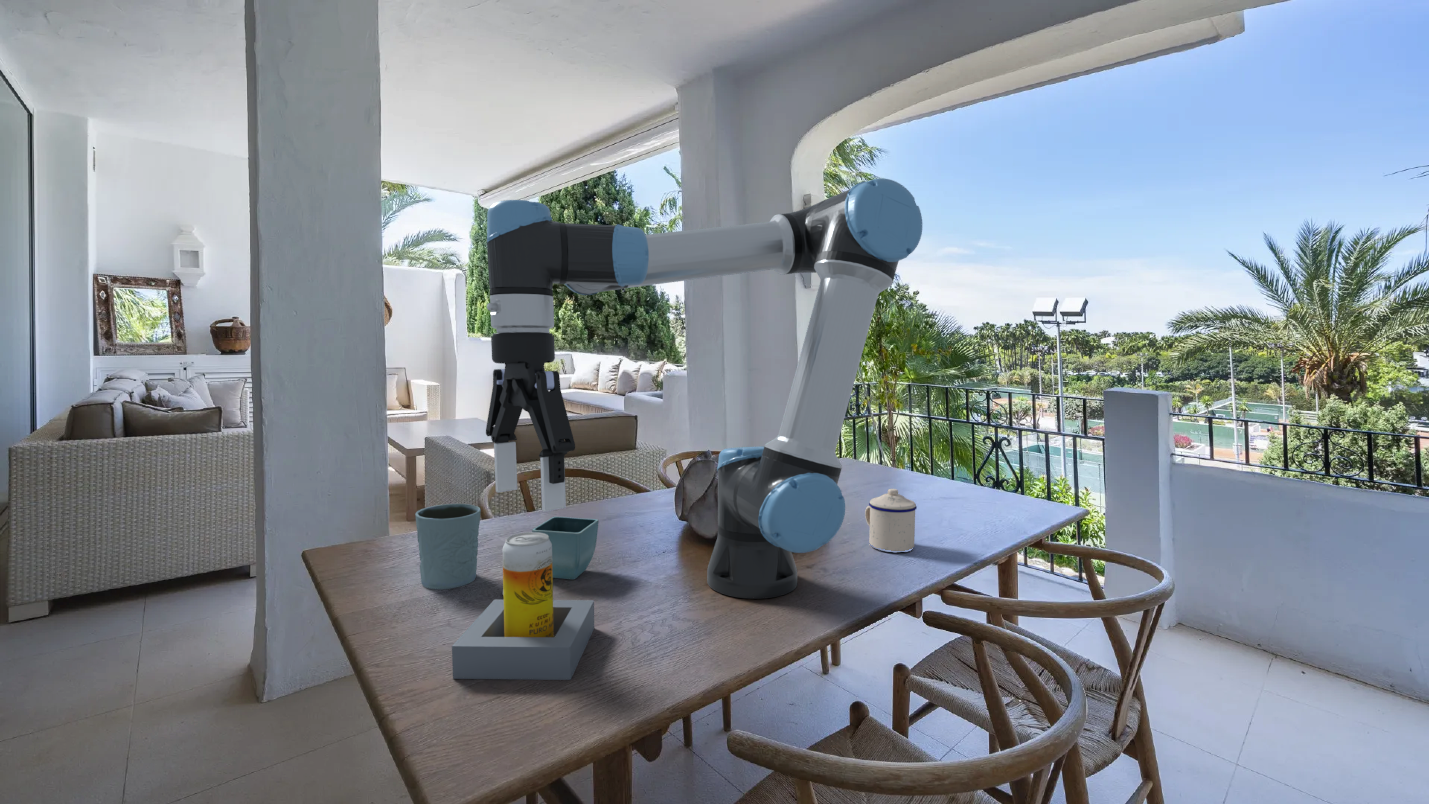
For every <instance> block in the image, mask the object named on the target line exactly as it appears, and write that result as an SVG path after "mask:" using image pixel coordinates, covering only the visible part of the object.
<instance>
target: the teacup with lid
mask: <svg viewBox="0 0 1429 804" xmlns="http://www.w3.org/2000/svg"><path fill="white" fill-rule="evenodd" d="M916 504H917V503H915V501H914V500H911V499H909V498H907V497H905V496H903V495H902V494H900V493H899V490H898V489H897V488H889V489H888V490H887V493H884V494H882V495H880V496H876V497H873V498H871V499H870V500H869V503H868V505H867V506H866V508H865V510H864V517H865V522H866V524H867V526H868V527H869V532H868V533H869V534H868V535H869V536H868V538H869V539H868V540H869V541H868V544H869V543H870V544H871V545H873V546H874V547H876V548H881V549H885V550H891V551H905V550H909V549H912V548H913V547H914V548H915V532H916V531H915V530H916V510H917V507H918V506H917V505H916ZM870 544H869V545H870Z"/></svg>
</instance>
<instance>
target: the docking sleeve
mask: <svg viewBox="0 0 1429 804" xmlns="http://www.w3.org/2000/svg"><path fill="white" fill-rule="evenodd" d="M553 629H554V637H505V636H504V599H496V598H495V599H493V600H492V602H490V604H489V605H488V606H487V607H486V608H485V609H484V610H483V611H482V612H481V613H480V614H479V615H478V616H477V618H476V619H475V620H474V621H473V623H471V625H469V627H468V628H467V629H466V630H464V632H463V634H461V635H460V637H458V639H457V640H456V641H455V642H454V643H453V644H452V645H451V657H452V659H451V660H452V661H451V662H452V663H451V664H452V679H453V680H460V679H461V680H533V681H534V680H535V681H536V680H537V681H538V680H545V681H546V680H547V681H549V680H550V681H551V680H553V681H554V680H555V681H559V680H560V681H562V680H563V681H571V680H572V678H573V676H574V673H575V672H576V669H577V667H578V665H579V662H580V660H581V658H582V656H583V654H584V651H585V649H586V647H587V645H588V643H589V640H590V639H591V636H592V634H593V631H594V630H595V600H592V599H588V600H587V599H586V600H585V599H584V600H583V599H553Z"/></svg>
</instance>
